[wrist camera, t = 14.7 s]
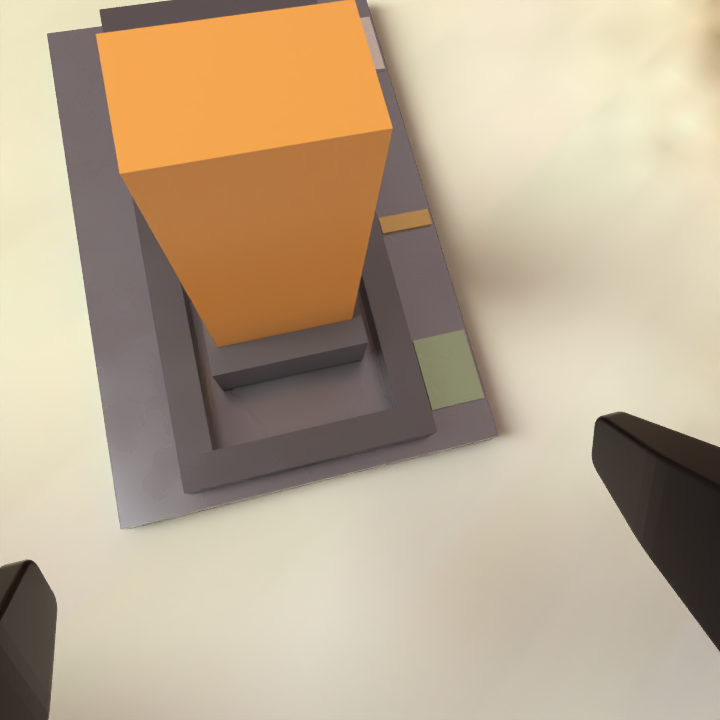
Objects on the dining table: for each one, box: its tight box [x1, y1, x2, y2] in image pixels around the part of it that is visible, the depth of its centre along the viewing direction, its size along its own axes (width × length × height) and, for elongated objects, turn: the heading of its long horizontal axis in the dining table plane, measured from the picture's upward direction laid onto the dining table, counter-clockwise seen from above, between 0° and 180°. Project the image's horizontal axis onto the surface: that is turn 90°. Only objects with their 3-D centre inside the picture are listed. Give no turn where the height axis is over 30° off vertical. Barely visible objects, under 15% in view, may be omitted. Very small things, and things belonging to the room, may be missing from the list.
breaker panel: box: [47, 0, 498, 530], centre depth 20 cm, size 18×12×2 cm, turn 14°
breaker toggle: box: [96, 0, 393, 390], centre depth 14 cm, size 4×5×11 cm
